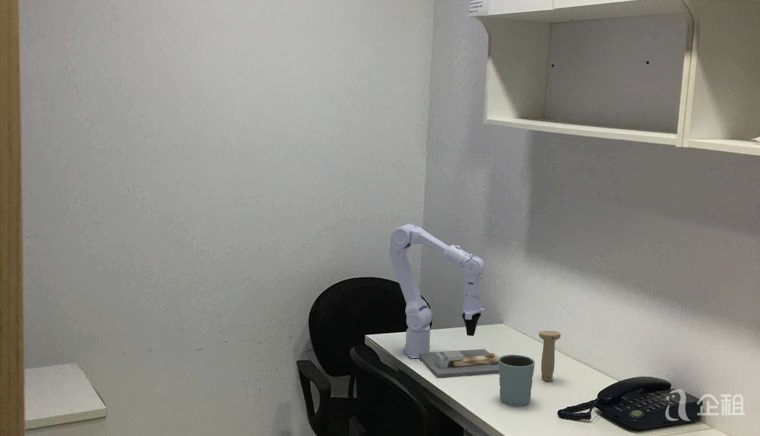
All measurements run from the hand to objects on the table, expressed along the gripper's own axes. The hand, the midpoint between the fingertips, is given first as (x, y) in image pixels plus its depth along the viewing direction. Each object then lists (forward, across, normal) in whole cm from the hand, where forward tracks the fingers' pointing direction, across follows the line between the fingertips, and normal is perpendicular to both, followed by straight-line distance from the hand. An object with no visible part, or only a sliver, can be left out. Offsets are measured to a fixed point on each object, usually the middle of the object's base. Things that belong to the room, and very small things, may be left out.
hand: (470, 335), depth 244 cm
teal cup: (+10, -27, -17) cm, 33 cm away
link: (+8, -4, -2) cm, 9 cm away
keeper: (+8, -8, +5) cm, 12 cm away
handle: (+10, -7, -25) cm, 28 cm away
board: (+9, -2, +2) cm, 10 cm away
